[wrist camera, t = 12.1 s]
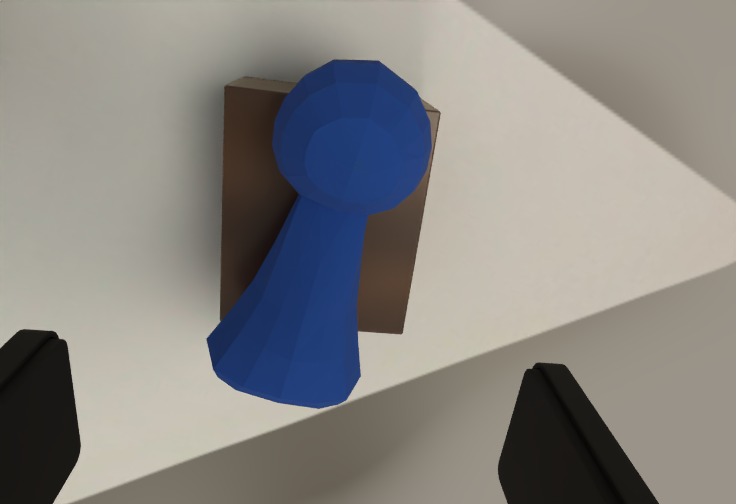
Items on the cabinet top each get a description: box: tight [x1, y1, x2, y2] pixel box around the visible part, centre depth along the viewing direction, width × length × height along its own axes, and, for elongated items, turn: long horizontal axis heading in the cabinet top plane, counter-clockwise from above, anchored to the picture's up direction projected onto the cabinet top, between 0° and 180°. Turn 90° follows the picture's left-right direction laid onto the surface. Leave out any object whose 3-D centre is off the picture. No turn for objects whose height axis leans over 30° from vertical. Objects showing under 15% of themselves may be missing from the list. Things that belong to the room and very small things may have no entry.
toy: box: [207, 60, 432, 409], centre depth 21 cm, size 7×6×15 cm
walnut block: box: [220, 77, 441, 334], centre depth 26 cm, size 11×9×5 cm
